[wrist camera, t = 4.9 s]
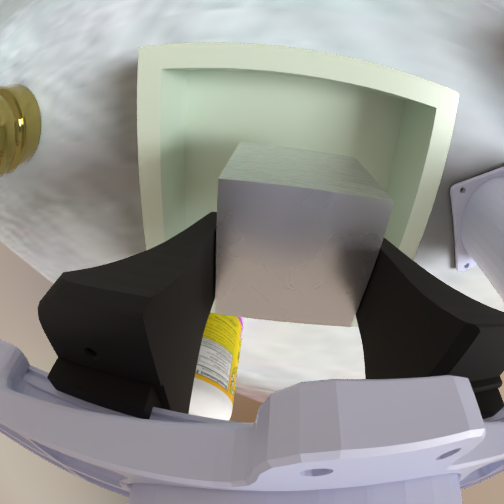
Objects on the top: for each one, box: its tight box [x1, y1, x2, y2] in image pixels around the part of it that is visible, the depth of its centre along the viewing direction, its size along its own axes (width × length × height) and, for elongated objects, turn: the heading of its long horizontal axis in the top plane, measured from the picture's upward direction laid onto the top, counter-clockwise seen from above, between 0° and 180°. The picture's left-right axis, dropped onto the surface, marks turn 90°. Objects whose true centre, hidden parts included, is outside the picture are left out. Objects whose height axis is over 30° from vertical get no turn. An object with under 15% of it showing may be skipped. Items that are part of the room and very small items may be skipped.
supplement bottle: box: [189, 313, 243, 421], centre depth 20 cm, size 7×7×13 cm
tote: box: [137, 42, 460, 327], centre depth 16 cm, size 15×15×5 cm
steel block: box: [215, 142, 394, 327], centre depth 11 cm, size 5×5×5 cm
